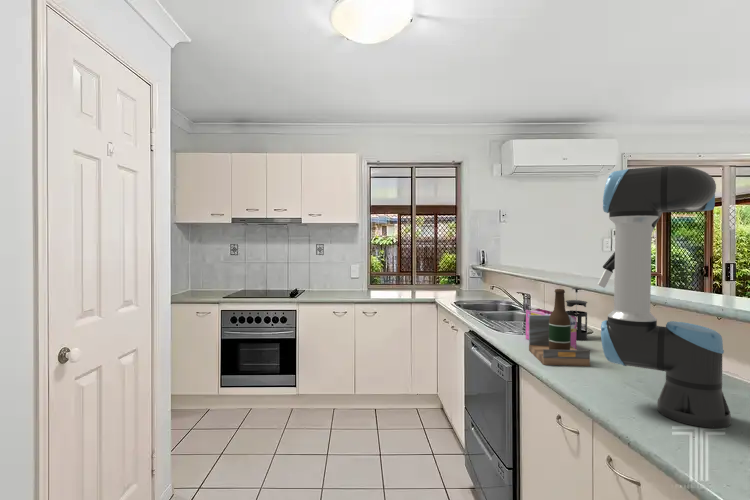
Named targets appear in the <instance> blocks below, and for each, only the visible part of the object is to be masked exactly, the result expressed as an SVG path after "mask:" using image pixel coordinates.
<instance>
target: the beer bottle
mask: <svg viewBox="0 0 750 500" xmlns="http://www.w3.org/2000/svg"><path fill="white" fill-rule="evenodd" d="M565 293H566V291H565V289H563V288H556V289H555V290H554V294H555V295H554V306H553V310H552V313H551V315H550V317H549V349H550V350H570V319H569V316H568V314H567V313H566V311H567V310H566V304H565V302H566V300H565Z"/></svg>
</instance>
